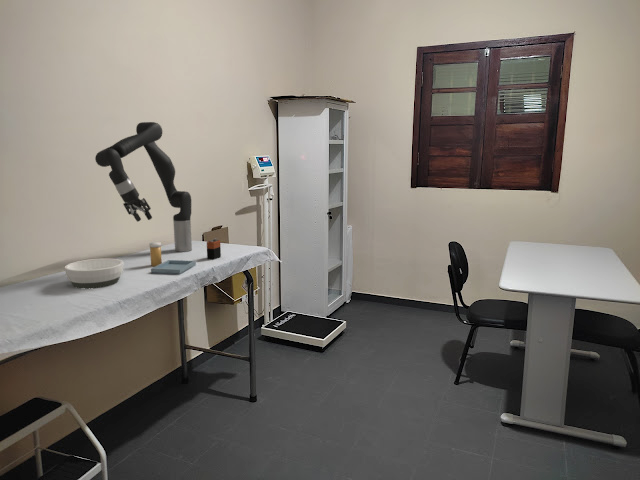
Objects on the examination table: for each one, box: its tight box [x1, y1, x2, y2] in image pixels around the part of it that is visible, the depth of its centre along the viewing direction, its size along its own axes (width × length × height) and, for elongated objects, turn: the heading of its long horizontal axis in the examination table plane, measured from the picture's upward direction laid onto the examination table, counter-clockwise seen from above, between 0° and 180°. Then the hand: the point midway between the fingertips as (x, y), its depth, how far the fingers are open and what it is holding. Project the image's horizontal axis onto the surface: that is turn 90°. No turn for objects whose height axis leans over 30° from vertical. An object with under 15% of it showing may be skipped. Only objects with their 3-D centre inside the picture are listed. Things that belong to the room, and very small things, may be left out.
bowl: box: [64, 258, 124, 290], centre depth 202 cm, size 22×22×8 cm
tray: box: [150, 259, 197, 275], centre depth 226 cm, size 18×14×2 cm
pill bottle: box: [148, 241, 163, 267], centre depth 233 cm, size 5×5×11 cm
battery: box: [206, 237, 222, 260], centre depth 250 cm, size 4×7×10 cm, turn 158°
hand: (144, 219), depth 227 cm, fingers open, 8 cm apart
